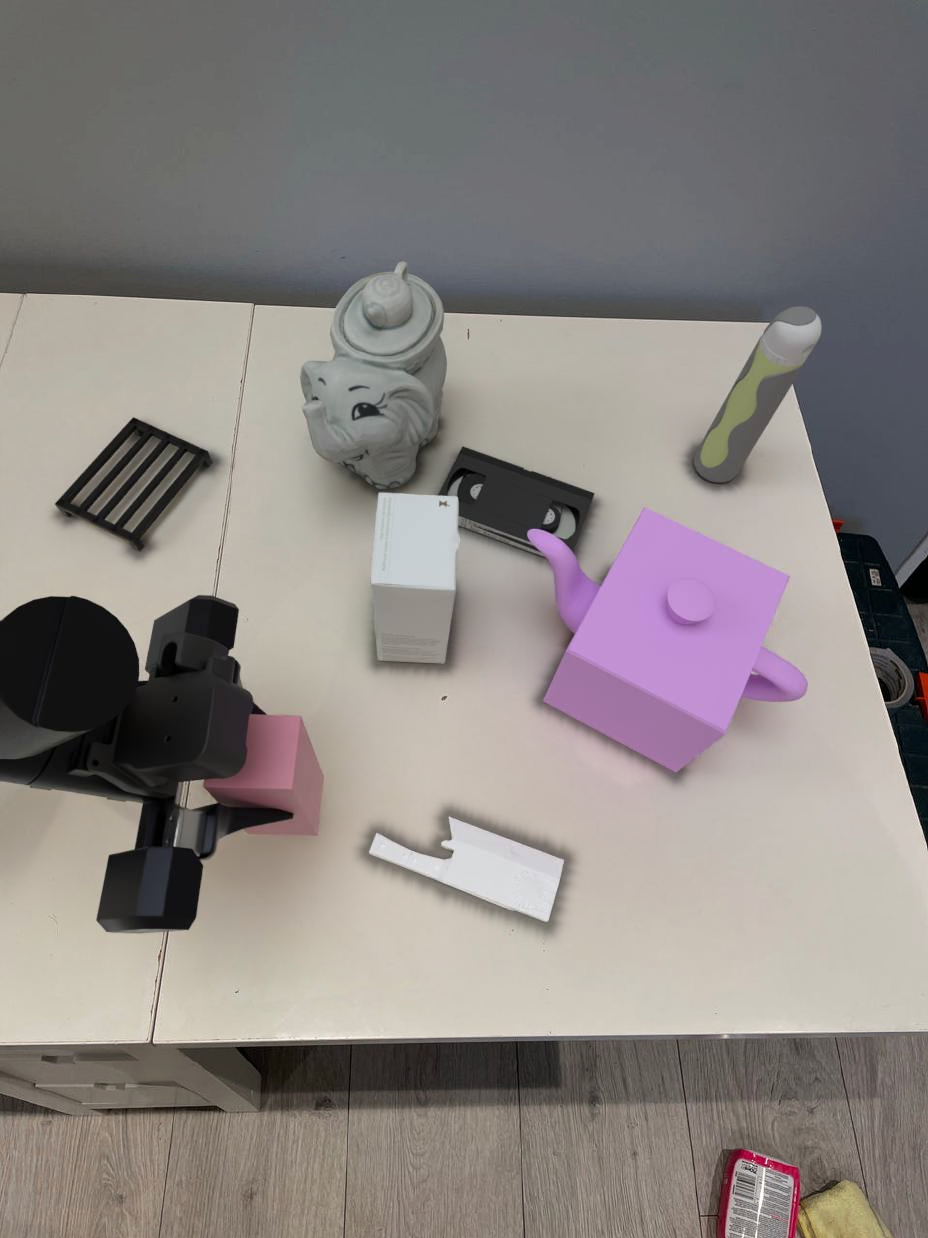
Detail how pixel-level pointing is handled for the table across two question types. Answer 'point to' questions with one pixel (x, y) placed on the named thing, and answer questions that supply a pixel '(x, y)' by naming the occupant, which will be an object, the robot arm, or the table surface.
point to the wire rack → (133, 481)
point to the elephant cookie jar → (379, 378)
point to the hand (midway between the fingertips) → (293, 780)
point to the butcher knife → (485, 868)
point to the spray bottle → (757, 393)
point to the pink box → (276, 776)
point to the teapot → (666, 639)
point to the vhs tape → (514, 501)
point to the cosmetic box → (414, 575)
